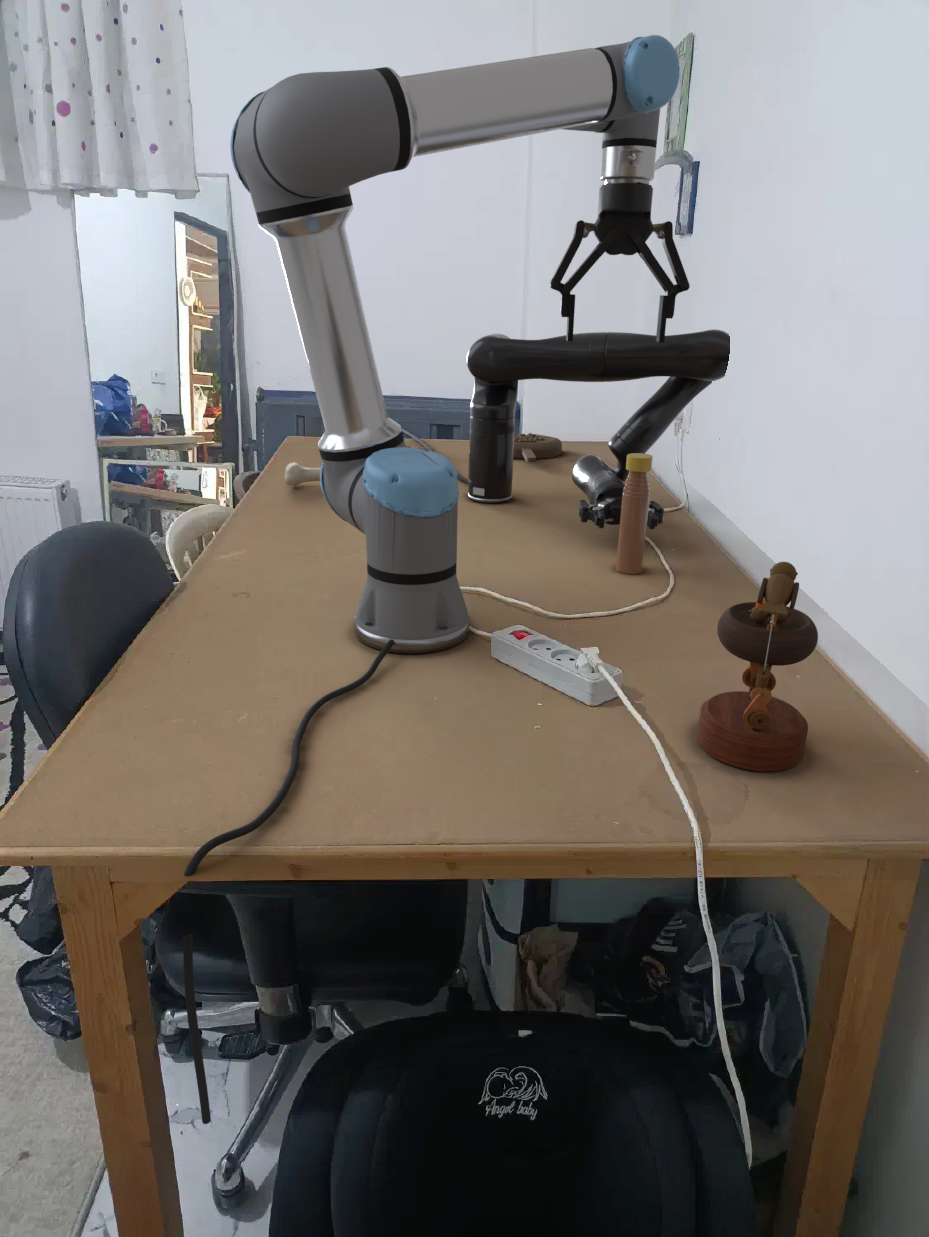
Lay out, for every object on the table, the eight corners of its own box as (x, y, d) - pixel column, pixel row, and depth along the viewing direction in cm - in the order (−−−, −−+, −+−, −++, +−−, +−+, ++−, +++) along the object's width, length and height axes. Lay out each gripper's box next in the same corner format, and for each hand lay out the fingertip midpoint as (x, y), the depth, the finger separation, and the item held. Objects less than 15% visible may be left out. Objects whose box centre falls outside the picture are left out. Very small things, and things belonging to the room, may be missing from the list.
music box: (826, 784, 80) (847, 586, 73) (707, 784, 81) (715, 589, 74) (787, 708, 94) (802, 535, 87) (686, 708, 95) (692, 539, 88)
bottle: (613, 572, 137) (623, 459, 130) (618, 564, 141) (628, 454, 134) (639, 575, 136) (651, 462, 129) (644, 567, 139) (655, 456, 132)
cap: (623, 470, 131) (624, 456, 130) (628, 465, 134) (629, 452, 133) (649, 473, 129) (650, 459, 129) (652, 468, 133) (654, 454, 132)
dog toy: (375, 480, 193) (375, 458, 191) (377, 486, 187) (376, 464, 186) (285, 482, 190) (284, 460, 188) (284, 489, 184) (283, 466, 182)
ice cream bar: (489, 468, 207) (489, 450, 206) (481, 446, 233) (482, 430, 232) (574, 468, 208) (575, 451, 207) (557, 446, 234) (558, 431, 233)
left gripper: (539, 180, 116) (533, 342, 124) (722, 182, 116) (703, 344, 124) (536, 185, 123) (530, 338, 131) (708, 187, 122) (692, 340, 131)
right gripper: (573, 478, 154) (586, 500, 139) (651, 479, 155) (672, 501, 140) (571, 518, 157) (583, 544, 142) (647, 519, 158) (667, 545, 143)
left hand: (614, 341), depth 127 cm, fingers open, 13 cm apart
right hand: (627, 523), depth 141 cm, fingers open, 8 cm apart
